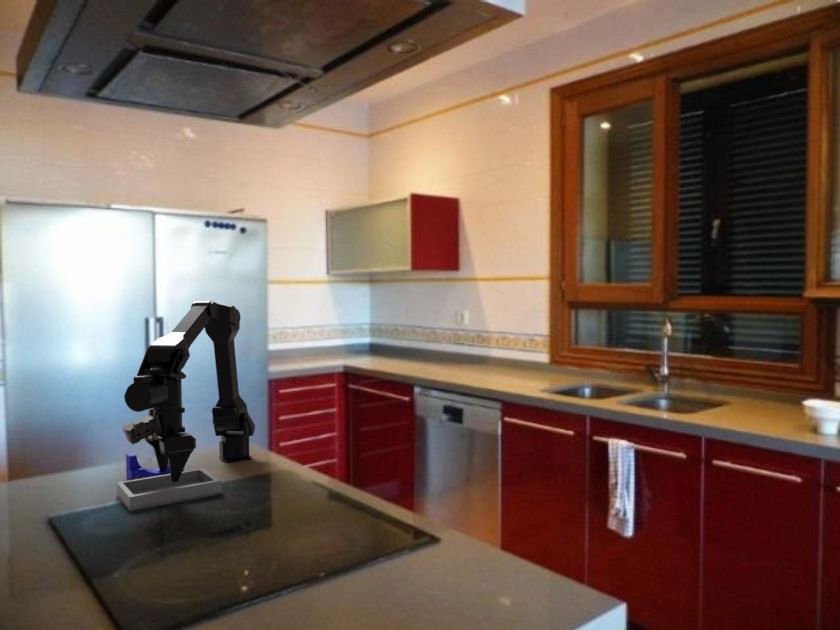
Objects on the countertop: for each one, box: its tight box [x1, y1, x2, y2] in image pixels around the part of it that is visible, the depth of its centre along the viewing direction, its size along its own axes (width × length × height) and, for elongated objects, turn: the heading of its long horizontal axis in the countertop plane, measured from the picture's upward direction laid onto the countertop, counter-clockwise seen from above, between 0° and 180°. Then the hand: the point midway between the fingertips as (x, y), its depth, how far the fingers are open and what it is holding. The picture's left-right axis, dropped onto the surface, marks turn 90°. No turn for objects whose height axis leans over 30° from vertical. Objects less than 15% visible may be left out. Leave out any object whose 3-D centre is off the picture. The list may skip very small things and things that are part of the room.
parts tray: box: [116, 467, 222, 512], centre depth 136 cm, size 18×12×3 cm, turn 126°
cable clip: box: [125, 452, 185, 481], centre depth 151 cm, size 12×4×6 cm, turn 129°
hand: (168, 476), depth 136 cm, fingers open, 9 cm apart
